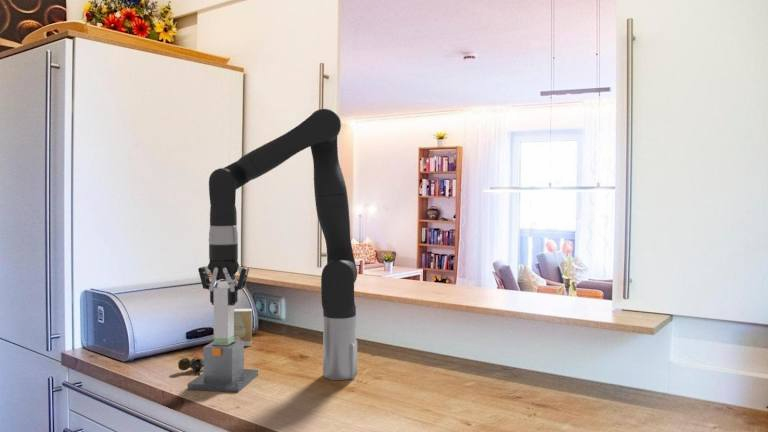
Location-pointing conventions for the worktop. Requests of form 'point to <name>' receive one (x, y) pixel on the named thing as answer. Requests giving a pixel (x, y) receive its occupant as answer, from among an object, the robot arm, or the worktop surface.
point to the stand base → (223, 369)
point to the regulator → (191, 364)
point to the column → (223, 317)
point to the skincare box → (243, 325)
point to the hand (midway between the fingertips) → (223, 304)
